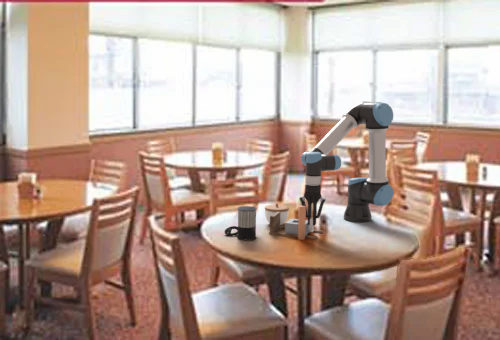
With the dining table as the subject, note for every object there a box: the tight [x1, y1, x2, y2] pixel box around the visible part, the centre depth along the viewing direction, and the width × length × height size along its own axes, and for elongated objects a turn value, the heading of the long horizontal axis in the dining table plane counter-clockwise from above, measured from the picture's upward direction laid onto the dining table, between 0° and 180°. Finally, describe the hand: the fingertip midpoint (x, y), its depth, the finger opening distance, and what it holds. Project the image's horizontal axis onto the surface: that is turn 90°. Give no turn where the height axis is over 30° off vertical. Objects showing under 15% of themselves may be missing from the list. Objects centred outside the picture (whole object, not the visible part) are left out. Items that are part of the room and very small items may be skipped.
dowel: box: [297, 205, 307, 241], centre depth 290 cm, size 4×4×16 cm
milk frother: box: [224, 205, 257, 241], centre depth 293 cm, size 14×16×15 cm
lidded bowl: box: [264, 202, 290, 226], centre depth 320 cm, size 13×13×11 cm
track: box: [268, 212, 324, 240], centre depth 301 cm, size 24×13×9 cm, turn 71°
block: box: [284, 218, 310, 235], centre depth 301 cm, size 10×10×6 cm
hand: (311, 231), depth 299 cm, fingers closed
